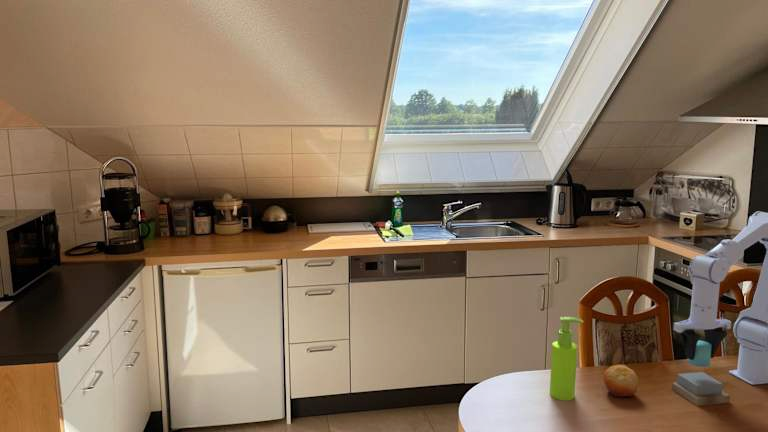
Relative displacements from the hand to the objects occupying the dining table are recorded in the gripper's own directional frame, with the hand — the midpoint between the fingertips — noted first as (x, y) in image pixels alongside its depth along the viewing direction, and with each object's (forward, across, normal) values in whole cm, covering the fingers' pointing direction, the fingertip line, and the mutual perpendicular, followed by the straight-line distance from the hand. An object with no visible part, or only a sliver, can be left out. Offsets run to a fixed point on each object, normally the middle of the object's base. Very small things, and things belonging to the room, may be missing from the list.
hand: (699, 357), depth 146 cm
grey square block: (+8, 0, +1) cm, 8 cm away
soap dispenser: (+10, +33, -5) cm, 35 cm away
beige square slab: (+10, 0, +1) cm, 10 cm away
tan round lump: (+10, +19, -4) cm, 22 cm away
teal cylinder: (+2, 0, 0) cm, 2 cm away
